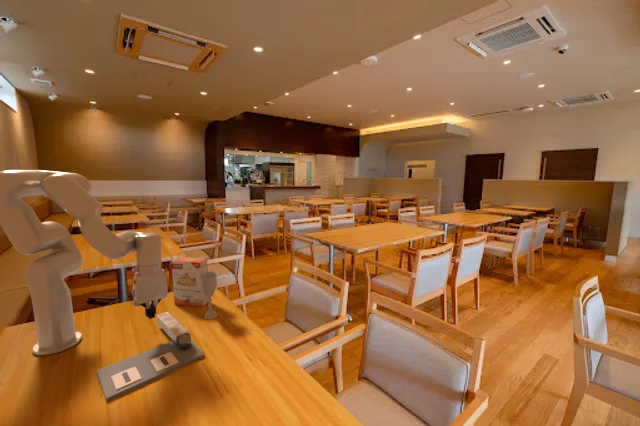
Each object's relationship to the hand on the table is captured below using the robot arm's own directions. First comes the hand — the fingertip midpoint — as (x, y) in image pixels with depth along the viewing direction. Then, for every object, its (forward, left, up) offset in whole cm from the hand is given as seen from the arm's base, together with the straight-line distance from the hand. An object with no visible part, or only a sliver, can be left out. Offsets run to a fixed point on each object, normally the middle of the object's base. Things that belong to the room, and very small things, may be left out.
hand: (150, 316), depth 103 cm
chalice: (0, +22, -8) cm, 23 cm away
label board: (+17, -4, -8) cm, 19 cm away
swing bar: (+6, +5, -6) cm, 10 cm away
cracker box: (-17, +21, -8) cm, 28 cm away
